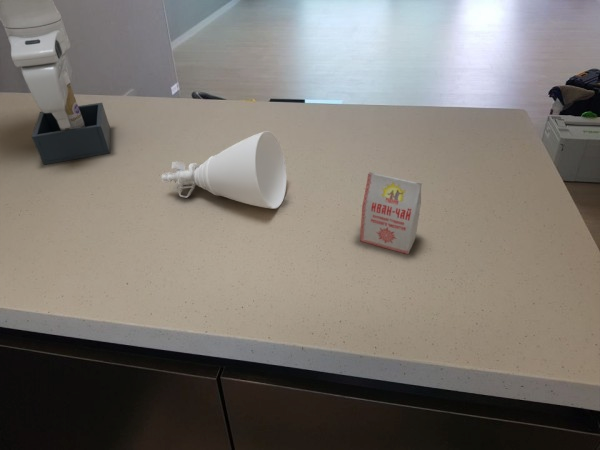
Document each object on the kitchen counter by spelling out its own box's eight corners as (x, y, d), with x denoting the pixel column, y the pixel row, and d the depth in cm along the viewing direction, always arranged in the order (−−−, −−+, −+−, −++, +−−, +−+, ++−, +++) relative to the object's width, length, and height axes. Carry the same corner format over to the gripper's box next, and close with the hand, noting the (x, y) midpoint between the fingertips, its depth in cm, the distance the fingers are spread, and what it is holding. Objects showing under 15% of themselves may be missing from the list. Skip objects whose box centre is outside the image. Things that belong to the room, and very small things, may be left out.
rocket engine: (147, 136, 69) (254, 121, 63) (191, 152, 80) (286, 141, 74) (147, 212, 68) (255, 204, 62) (191, 218, 79) (287, 212, 73)
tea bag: (369, 226, 66) (373, 165, 59) (415, 238, 63) (425, 176, 57) (360, 241, 63) (363, 179, 57) (408, 254, 60) (417, 191, 54)
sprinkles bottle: (88, 145, 87) (63, 76, 79) (63, 149, 87) (36, 79, 78) (92, 135, 91) (68, 68, 83) (68, 138, 90) (42, 70, 82)
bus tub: (43, 164, 83) (31, 137, 80) (50, 137, 92) (39, 111, 89) (109, 153, 86) (100, 125, 82) (110, 128, 95) (102, 102, 91)
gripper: (28, 27, 84) (55, 98, 92) (9, 60, 68) (43, 142, 77) (64, 23, 85) (88, 94, 94) (53, 54, 70) (83, 136, 78)
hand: (68, 116), depth 85 cm, fingers open, 8 cm apart
